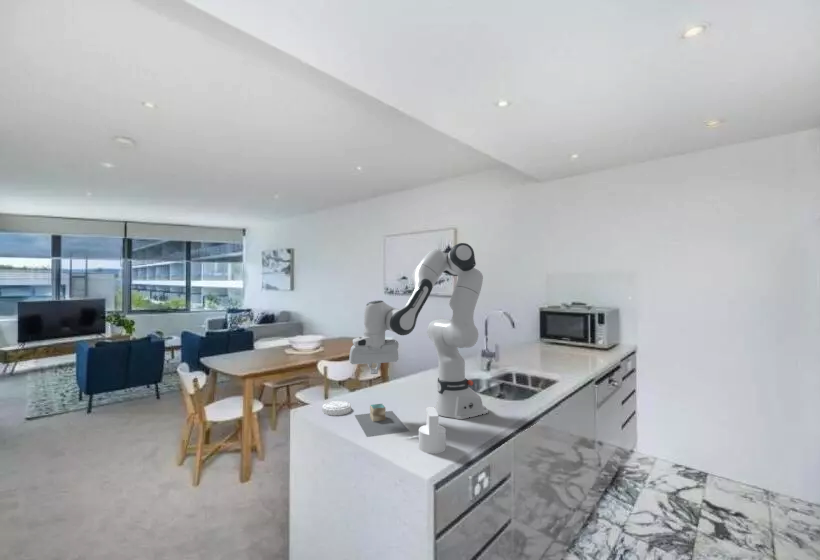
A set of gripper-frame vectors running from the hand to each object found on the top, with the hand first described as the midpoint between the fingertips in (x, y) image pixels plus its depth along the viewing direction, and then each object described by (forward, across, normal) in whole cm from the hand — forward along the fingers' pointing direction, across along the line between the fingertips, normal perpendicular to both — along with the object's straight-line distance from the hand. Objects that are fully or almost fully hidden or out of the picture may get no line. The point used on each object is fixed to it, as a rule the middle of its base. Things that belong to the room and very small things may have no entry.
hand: (373, 373), depth 157 cm
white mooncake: (+18, +14, -10) cm, 24 cm away
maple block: (+17, 0, +5) cm, 18 cm away
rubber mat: (+17, 0, +10) cm, 20 cm away
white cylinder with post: (+18, -12, +35) cm, 41 cm away
